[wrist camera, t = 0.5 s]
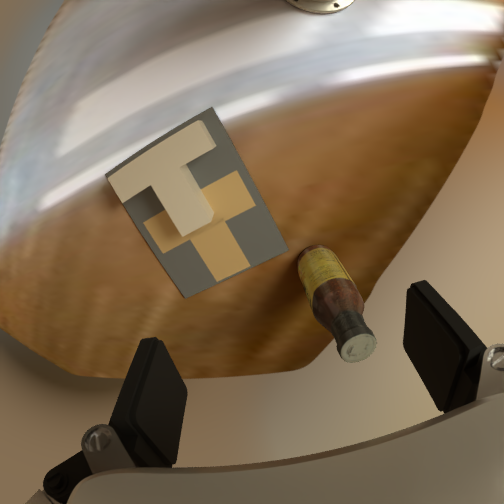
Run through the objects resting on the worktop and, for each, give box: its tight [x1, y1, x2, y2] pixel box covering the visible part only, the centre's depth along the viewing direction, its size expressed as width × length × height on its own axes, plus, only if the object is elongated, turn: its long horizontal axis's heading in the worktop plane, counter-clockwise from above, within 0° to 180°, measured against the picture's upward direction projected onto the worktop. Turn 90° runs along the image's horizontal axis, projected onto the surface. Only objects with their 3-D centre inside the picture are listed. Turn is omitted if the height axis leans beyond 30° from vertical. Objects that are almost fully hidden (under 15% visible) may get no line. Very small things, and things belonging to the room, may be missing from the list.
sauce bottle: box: [297, 245, 377, 363], centre depth 38 cm, size 7×6×20 cm
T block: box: [108, 120, 216, 237], centre depth 39 cm, size 12×14×4 cm
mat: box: [105, 107, 289, 299], centre depth 43 cm, size 23×18×1 cm
